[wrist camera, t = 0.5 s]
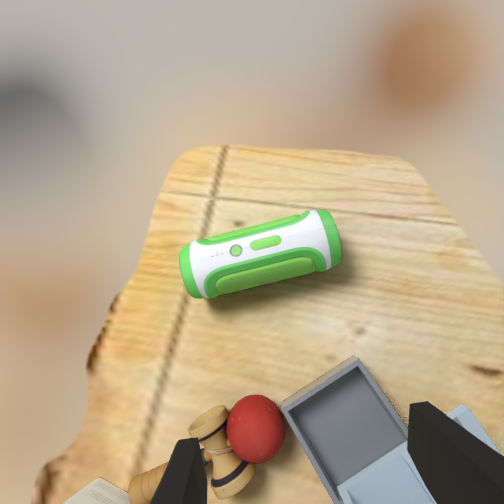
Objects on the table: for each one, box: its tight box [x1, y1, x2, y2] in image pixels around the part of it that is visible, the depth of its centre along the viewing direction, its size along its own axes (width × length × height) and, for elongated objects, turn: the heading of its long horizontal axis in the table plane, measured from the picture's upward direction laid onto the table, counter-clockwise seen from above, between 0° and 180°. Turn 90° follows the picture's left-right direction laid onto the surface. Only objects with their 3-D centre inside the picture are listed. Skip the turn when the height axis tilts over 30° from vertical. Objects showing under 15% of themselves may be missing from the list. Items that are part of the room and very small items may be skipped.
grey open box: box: [281, 356, 408, 504], centre depth 29 cm, size 10×10×4 cm
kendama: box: [128, 395, 285, 504], centre depth 30 cm, size 8×6×18 cm
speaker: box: [179, 210, 342, 299], centre depth 34 cm, size 18×7×8 cm, turn 103°
